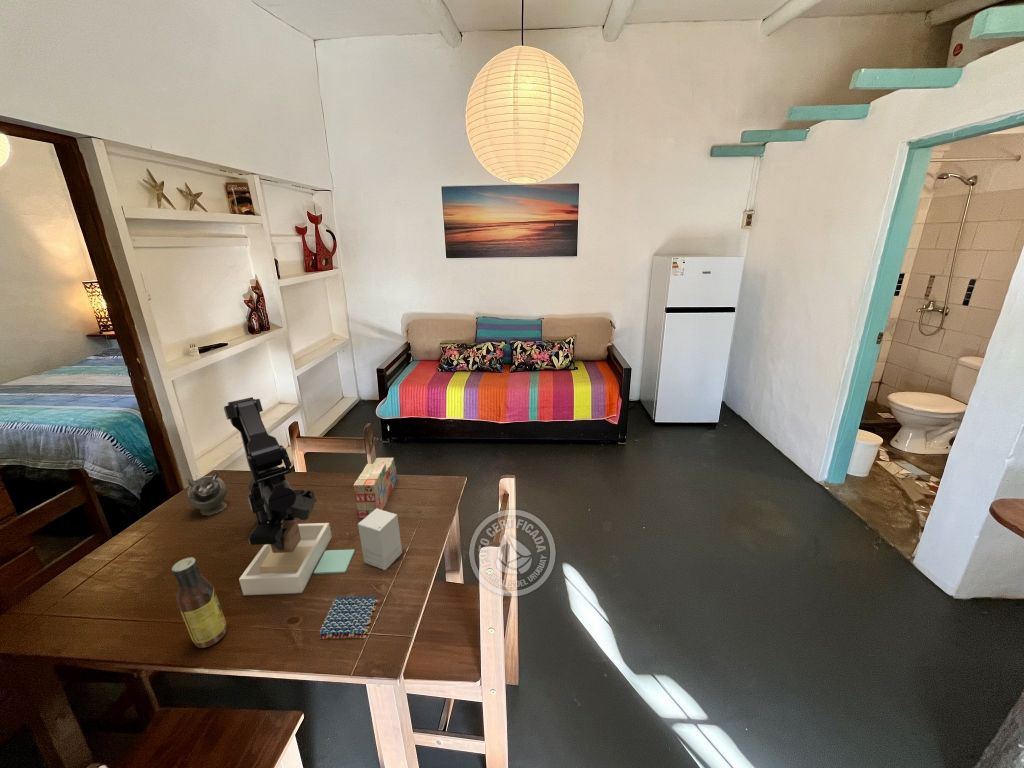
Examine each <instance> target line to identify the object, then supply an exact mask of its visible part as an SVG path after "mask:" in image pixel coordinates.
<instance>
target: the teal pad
mask: <svg viewBox="0 0 1024 768" xmlns="http://www.w3.org/2000/svg"><path fill="white" fill-rule="evenodd" d="M355 552H356V549H353V548H352V549H329V550H328V549H327V550H326V549H325V551H324V553H323V555H322V556H321V558H320V560H319V562H318V564H317V566H316V568H315V570H314V572H313V575H325V574H328V575H329V574H345V573H347V570H348V568H349V565H350V563H351V561H352V558H354V557H353V556H354V555H355Z"/></svg>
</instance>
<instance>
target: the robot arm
mask: <svg viewBox="0 0 1024 768" xmlns="http://www.w3.org/2000/svg"><path fill="white" fill-rule="evenodd" d="M253 397H254V396H253ZM253 397H252V396H251V397H247V398H243V399H237V400H233V401H229V402H227V405H224V406H223V410H224V413H225V414H224V415H225V417H226V420H229V421H230V424H231V425H232V427H234V428H235V429H236V430H237V431H239V433H240V437H241V440H242V445H243V449H244V452H245V456H246V457H245V458H246V461H247V465H248V468H249V470H250V474H251V480H250V482H249V485H248V490H249V494H247V501H248V505H249V508H250V510H251V512H252V514H255V518H256V521H257V524H256V525H255V526H254V527H255V528H254V529H253V530H252V532H251V533H250V534H249V535H248V537H247V539H248V543H249V545H250V546H261V545H262V546H264V545H267V544H272V545H273V546H275V547H276V548H277V549H278V550H284V540H283V534H284V533H285V532H286V530H287V528H283V529H282V521H288V520H297V519H300V520H301V521H306V520H308V519H309V518H310V515H311V514H312V513H313V510H314V506H315V504H316V502H317V499H316V495H315V493H314V491H313V490H311V489H307V490H304V489H294V488H292V486H291V484H290V483H289V481H288V480H287V479H286V476H285V475H288V474H291V473H292V470H291V467H292V462H291V460H290V457H289V454H288V451H287V449H286V448H285V447H284V446H283V445H280V444H279V442H278V440H277V438H276V437H275V436H272V435H270V434H269V433H268V432H267V430H266V427H265V425H264V422H263V420H262V416H261V412H263V411H264V410H263V407H262V403H261V399H260V398H253ZM283 464H284V465H283ZM282 465H283V466H282ZM279 466H280V467H279Z"/></svg>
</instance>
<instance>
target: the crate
mask: <svg viewBox="0 0 1024 768" xmlns="http://www.w3.org/2000/svg"><path fill="white" fill-rule="evenodd" d="M298 527H299V531H300V536H301V540H300V542H299V543H298V545H297V546H296V548H295V549H294V551H293V552H286V553H273V552H272V548H271V544H267V545H262V547H261V548H260V550H259V551H258V552H257V553H256V555H255V556H254V558H253V559H252V561H251V562H250V564H249V565H248V566H247V567H246V569H245V570H244V572H243V573H242V575H240V577H239V578H238V581H239V584H240V588H241V592H242V595H243V596H260V595H263V596H264V595H284V594H302V593H303V592H304V591H305V589H306V586H307V585H308V584H309V582H310V579H311V577H312V575H313V574H314V571H315V569H316V567H317V565H318V564H319V562H320V560H321V558H322V556H323V554H324V552H325V550H326V549H327V547H328V545H329V543H330V541H331V540H332V537H333V536H332V532H331V531H332V530H331V526H330V522H320V523H319V522H318V523H317V522H316V523H315V522H314V523H298Z"/></svg>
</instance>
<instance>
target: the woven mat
mask: <svg viewBox="0 0 1024 768" xmlns="http://www.w3.org/2000/svg"><path fill="white" fill-rule="evenodd" d="M359 597H360V598H359ZM378 602H379V600H378V599H377V597H376V595H375V596H373V595H370V596H367V597H366V595H363V596H360V595H357V596H354V597H353V595H350V597H349V596H347V597H346V595H343V596H339V595H337V596H336V598H335V600H334V601H332V604H331V607H329V609H330V610H329V611H328V612H327V616H326V617H325V618H324V621H323V624H322V625H321V627H320V629H319V635H320V636H319V639H320V640H321V639H325V640H330V639H332V640H333V639H335V640H337V639H349V640H352V639H365V638H366V637H367V635H365V634H366V633H368V631H369V630H368V629H370V626H369V625H370V624H371V623H372V621H371V619H372V616H373V612H374V611H376V608H377V605H375V604H376V603H378Z"/></svg>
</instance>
